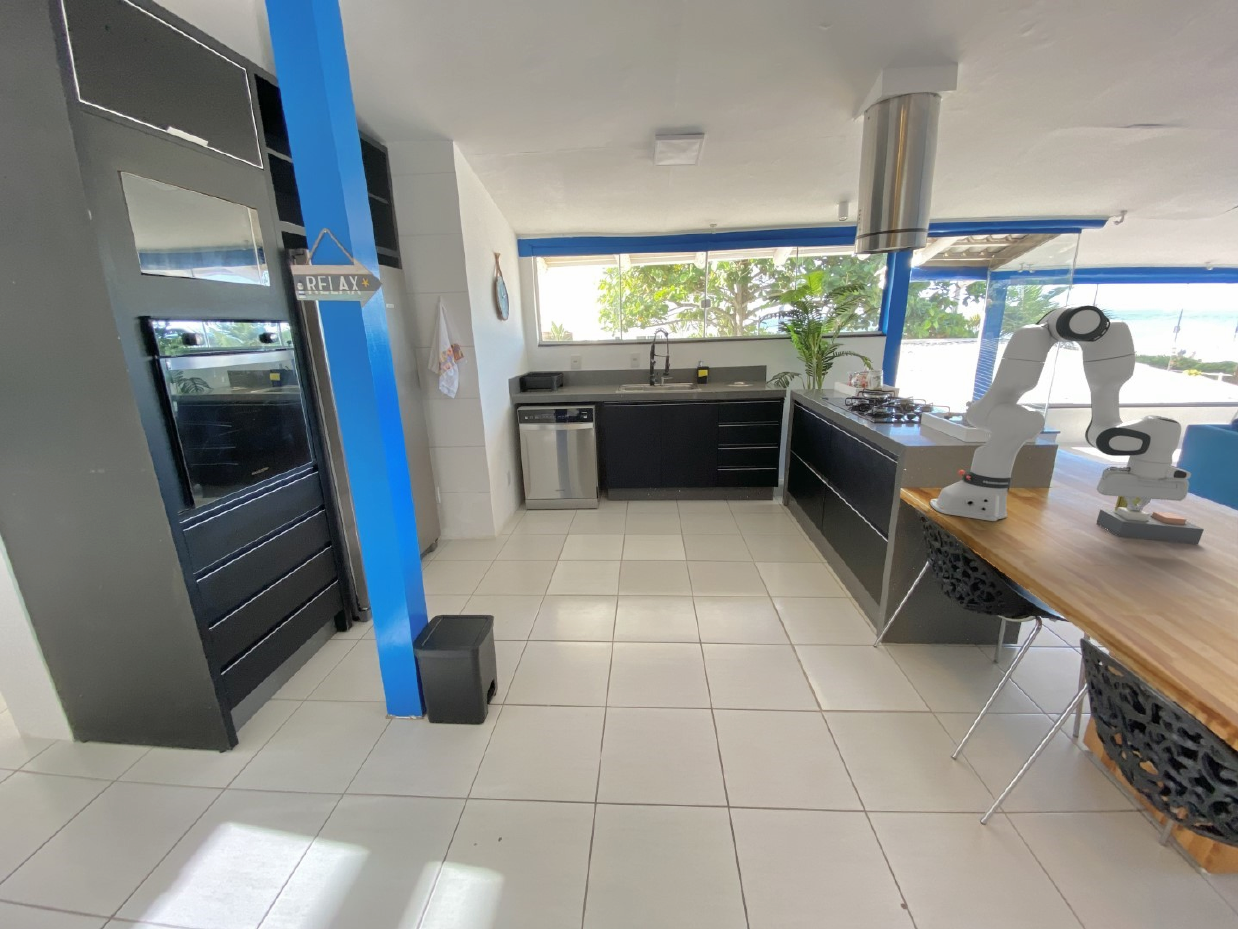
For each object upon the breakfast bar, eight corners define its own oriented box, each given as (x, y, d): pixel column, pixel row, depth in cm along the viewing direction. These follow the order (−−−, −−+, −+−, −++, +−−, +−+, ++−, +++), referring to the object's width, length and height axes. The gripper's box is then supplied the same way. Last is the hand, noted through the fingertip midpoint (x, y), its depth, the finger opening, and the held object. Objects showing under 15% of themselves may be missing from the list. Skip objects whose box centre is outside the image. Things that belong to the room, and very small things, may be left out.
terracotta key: (1161, 529, 144) (1165, 517, 143) (1149, 523, 149) (1153, 511, 148) (1182, 531, 143) (1186, 519, 142) (1169, 525, 148) (1173, 513, 146)
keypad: (1118, 536, 146) (1123, 521, 144) (1096, 523, 156) (1100, 509, 154) (1198, 544, 140) (1203, 529, 139) (1169, 530, 150) (1174, 515, 149)
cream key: (1125, 524, 147) (1128, 512, 146) (1114, 518, 152) (1118, 506, 150) (1145, 526, 145) (1149, 514, 144) (1133, 520, 150) (1137, 508, 149)
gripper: (1111, 468, 144) (1099, 510, 148) (1198, 474, 138) (1183, 517, 142) (1098, 463, 149) (1086, 503, 153) (1181, 468, 144) (1167, 510, 147)
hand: (1133, 510), depth 147 cm, fingers closed
